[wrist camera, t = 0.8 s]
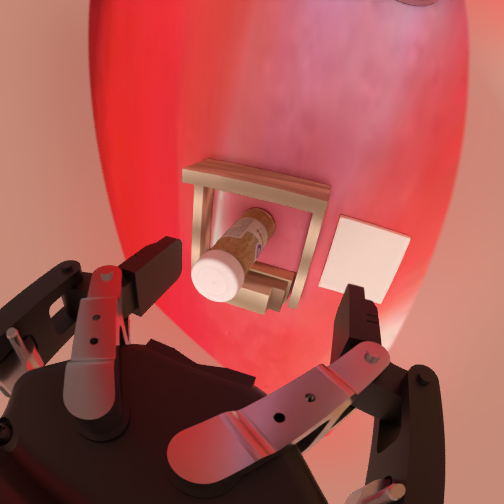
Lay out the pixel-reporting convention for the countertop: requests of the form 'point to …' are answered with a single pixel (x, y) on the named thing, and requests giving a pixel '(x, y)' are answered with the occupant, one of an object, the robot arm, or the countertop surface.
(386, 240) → the cream mat
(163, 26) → the countertop surface
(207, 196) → the frame
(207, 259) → the sprinkles bottle
